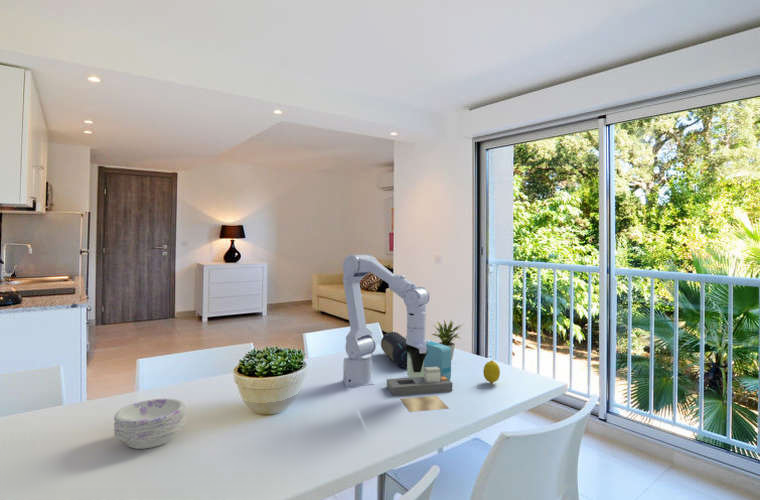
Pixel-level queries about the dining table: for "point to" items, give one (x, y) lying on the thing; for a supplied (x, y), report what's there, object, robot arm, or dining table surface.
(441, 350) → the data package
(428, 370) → the twin plug
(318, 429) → the dining table surface
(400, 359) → the portable speaker
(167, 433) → the paper bowls
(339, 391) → the dining table surface
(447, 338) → the house plant
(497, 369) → the lemon
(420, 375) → the plug
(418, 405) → the cork mat
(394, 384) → the power strip
